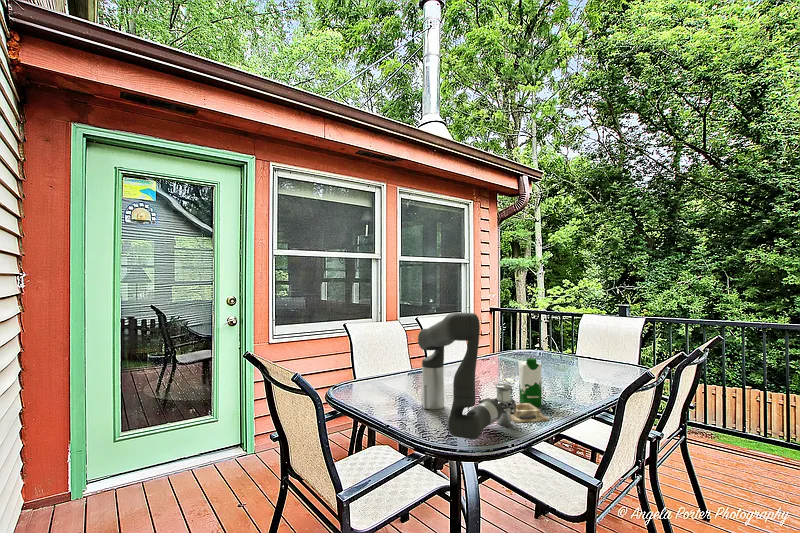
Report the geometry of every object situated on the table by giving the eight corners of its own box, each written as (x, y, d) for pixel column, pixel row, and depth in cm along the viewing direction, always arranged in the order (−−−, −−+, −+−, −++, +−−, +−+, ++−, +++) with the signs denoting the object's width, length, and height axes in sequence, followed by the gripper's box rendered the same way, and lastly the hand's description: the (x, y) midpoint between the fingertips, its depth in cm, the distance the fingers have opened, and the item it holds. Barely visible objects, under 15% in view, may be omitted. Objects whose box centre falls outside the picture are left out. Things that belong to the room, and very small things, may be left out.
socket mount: (514, 422, 155) (514, 413, 155) (500, 410, 169) (500, 402, 169) (549, 420, 157) (548, 411, 157) (532, 409, 171) (532, 401, 171)
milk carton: (523, 408, 173) (523, 360, 173) (517, 401, 182) (516, 356, 182) (544, 407, 173) (543, 359, 174) (536, 401, 182) (535, 355, 183)
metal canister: (499, 426, 152) (499, 388, 152) (493, 421, 157) (493, 384, 158) (514, 425, 152) (514, 387, 153) (508, 420, 158) (507, 383, 159)
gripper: (506, 405, 139) (524, 394, 153) (468, 398, 148) (489, 388, 162) (506, 427, 139) (525, 414, 153) (469, 419, 148) (489, 407, 161)
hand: (506, 400), depth 157 cm, fingers closed on metal canister, 5 cm apart
